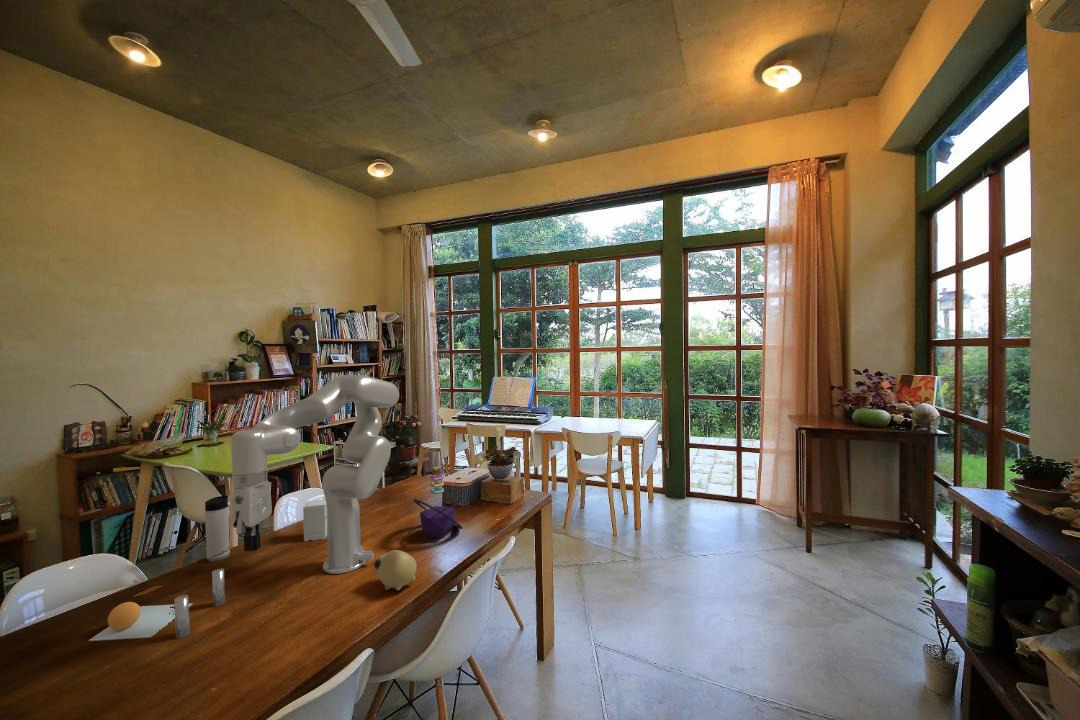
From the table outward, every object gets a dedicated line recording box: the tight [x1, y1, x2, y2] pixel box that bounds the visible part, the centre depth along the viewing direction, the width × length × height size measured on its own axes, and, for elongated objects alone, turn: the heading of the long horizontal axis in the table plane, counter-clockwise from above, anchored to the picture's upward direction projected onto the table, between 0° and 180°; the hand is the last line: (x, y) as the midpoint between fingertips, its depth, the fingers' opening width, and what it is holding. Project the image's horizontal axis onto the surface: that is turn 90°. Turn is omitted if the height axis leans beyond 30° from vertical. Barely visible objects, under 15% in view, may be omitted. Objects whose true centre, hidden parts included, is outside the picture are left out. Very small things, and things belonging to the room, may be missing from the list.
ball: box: [107, 601, 141, 630], centre depth 109 cm, size 6×6×6 cm
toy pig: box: [373, 549, 417, 591], centre depth 126 cm, size 10×12×11 cm
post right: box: [211, 568, 226, 607], centre depth 119 cm, size 3×3×9 cm
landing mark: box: [88, 603, 193, 642], centre depth 112 cm, size 14×14×1 cm
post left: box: [174, 594, 191, 639], centre depth 106 cm, size 3×3×9 cm
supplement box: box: [302, 499, 327, 542], centre depth 163 cm, size 7×7×13 cm
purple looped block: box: [406, 466, 467, 539], centre depth 161 cm, size 22×21×25 cm
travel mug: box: [204, 494, 231, 562], centre depth 147 cm, size 6×7×20 cm
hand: (252, 549), depth 113 cm, fingers closed
